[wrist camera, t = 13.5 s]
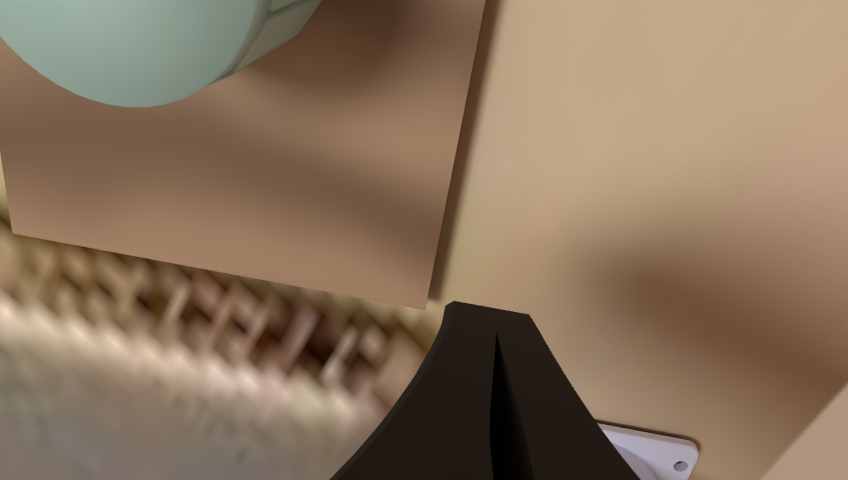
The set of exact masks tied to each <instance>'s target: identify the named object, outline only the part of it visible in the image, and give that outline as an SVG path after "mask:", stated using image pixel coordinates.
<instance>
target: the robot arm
mask: <svg viewBox="0 0 848 480" xmlns="http://www.w3.org/2000/svg"><path fill="white" fill-rule="evenodd" d="M698 458H699V452H698V450H697V447H696V445H695V444H694V443H693V442H692V441H689V440H685V439H679V438H674V437H669V436H663V435H658V434H653V433H647V432H642V431H636V430H631V429H626V428H620V427H615V426H610V425H604V424H599V423H597V422H596V421H595V419H594V418H593V417H592V415H591V414H590V412H589V411H588V409H587V408H586V406H585V405H584V403H583V402H582V400H581V399H580V397H579V396H578V394H577V393H576V391H575V390H574V388H573V387H572V385H571V383H570V382H569V380H568V379H567V377H566V375H565V374H564V372H563V371H562V369H561V367H560V366H559V364H558V362H557V361H556V359H555V357H554V356H553V354H552V352H551V351H550V349H549V347H548V345H547V344H546V342H545V340H544V339H543V337H542V335H541V333H540V332H539V330H538V328H537V326H536V325H535V323H534V321H533V320H532V318H531V317H530V315H529V314H523V313H518V312H512V311H507V310H501V309H496V308H490V307H485V306H479V305H474V304H468V303H463V302H457V301H453V302H451V303H449V304H448V305H446V306H445V311H444V315H443V320H442V325H441V327H440V330H439V332H438V334H437V337H436V339H435V341H434V343H433V345H432V347H431V349H430V351H429V352H428V354H427V356H426V357H425V359H424V361H423V363H422V364H421V366H420V368H419V370H418V371H417V373H416V375H415V376H414V378H413V379H412V381H411V382H410V384H409V385H408V387H407V388H406V389H405V391H404V392H403V394H402V395H401V396H400V398H399V399H398V401H397V402H396V403H395V405H394V406H393V408H392V409H391V411H390V412H389V413H388V414H387V416H386V417H385V418H384V420H383V421H382V422H381V423H380V425H379V426H378V427H377V428H376V429H375V431H374V432H373V433H372V434H371V436H370V437H369V438H368V439H367V440H366V441H365V442H364V444H363V445H362V446H361V447H360V448H359V449H358V450H357V452H356V453H355V454H354V455H353V456H352V457H351V458H350V459H349V460H348V461H347V462H346V463H345V464H344V465H343V466H342V467H341V468H340V469H339V470H338V471H337V473H336V474H335V475H334V476H333V477H332V478H331V479H330V480H688V478H689V476H690V474H691V472H692V470H693V468H694V466H695V464H696V462H697V460H698ZM679 461H683V462H682V463H679V464H675V463H676V462H679Z"/></svg>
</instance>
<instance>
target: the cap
mask: <svg viewBox="0 0 848 480" xmlns="http://www.w3.org/2000/svg"><path fill="white" fill-rule="evenodd" d="M321 1H322V0H0V36H1V37H2V39H3V40H4V41H5V42H6V43H7V45H8V46H9V47H11V48H12V49H13V50H14V51H15V52H16V53H17V54H18V55H19V56H20V57H21V58H22V59H23V60H24V61H25V62H26V63H28V64H29V65H30V66H31V67H33V68H34V69H35V70H36V71H38V72H39V73H40V74H42V75H43V76H45V77H46V78H48V79H49V80H51V81H52V82H54V83H56V84H57V85H59V86H61V87H63V88H65V89H67V90H69V91H71V92H73V93H75V94H77V95H80V96H83V97H85V98H88V99H90V100H93V101H97V102H101V103H105V104H109V105H115V106H123V107H152V106H158V105H165V104H168V103H171V102H175V101H178V100H181V99H183V98H185V97H187V96H189V95H191V94H193V93H196V92H197V91H199V90H201V89H202V88H204V87H206V86H208V85H209V84H212V83H215V82H217V81H220V80H222V79H225V78H227V77H229V76H231V75H233V74H234V73H236V72H238V71H239V70H241V69H243V68H244V67H246V66H248V65H249V64H251V63H252V62H254V61H256V60H257V59H259V58H261V57H262V56H264V55H266V54H267V53H269V52H271V51H272V50H274V49H276V48H277V47H279V46H281V45H282V44H284V43H286V42H287V41H289V40H291V39H292V38H293V37H294V36H296V35H297V34H299V32H300V31H301V29H302V28H303V27H304V25H305V24H306V22H307V21H308V19H309V18H310V17H311V15H312V14H313V12H314V11H315V9H316V8H317V7H318V5H319V4H320V2H321Z"/></svg>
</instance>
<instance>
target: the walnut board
mask: <svg viewBox="0 0 848 480" xmlns="http://www.w3.org/2000/svg"><path fill="white" fill-rule="evenodd" d="M485 1H486V0H322V1H321V2H320V4H319V5H318V7H317V8H316V9H315V11H314V12H313V14H312V15H311V17H310V18H309V19H308V21H307V22H306V24H305V25H304V27H303V28H302V29H301V31H300V32H299V34H297V35H296V36H294V37H293V38H292V39H291V40H289V41H287V42H286V43H284V44H282V45H281V46H279V47H277V48H276V49H274V50H272V51H271V52H269V53H267V54H266V55H264V56H262V57H261V58H259V59H257V60H256V61H254V62H252V63H251V64H249V65H248V66H246V67H244V68H243V69H241V70H239V71H238V72H236V73H234V74H233V75H231V76H229V77H227V78H225V79H222V80H220V81H217V82H215V83H212V84H209V85H208V86H206V87H204V88H202V89H201V90H199V91H197V92H196V93H193V94H191V95H189V96H187V97H185V98H183V99H181V100H178V101H175V102H171V103H168V104H165V105H158V106H152V107H123V106H115V105H109V104H105V103H101V102H97V101H93V100H90V99H88V98H85V97H83V96H80V95H77V94H75V93H73V92H71V91H69V90H67V89H65V88H63V87H61V86H59V85H57V84H56V83H54V82H52V81H51V80H49V79H48V78H46V77H45V76H43V75H42V74H40V73H39V72H38V71H36V70H35V69H34V68H33V67H31V66H30V65H29V64H28V63H26V62H25V61H24V60H23V59H22V58H21V57H20V56H19V55H18V54H17V53H16V52H15V51H14V50H13V49H12V48H11V47H9V46H8V45H7V43H6V42H5V41H4V40H3V39H2V37H1V36H0V153H1V159H2V166H3V173H4V179H5V186H6V193H7V199H8V206H9V213H10V220H11V226H12V233H14V234H19V235H25V236H30V237H35V238H41V239H46V240H51V241H57V242H62V243H68V244H73V245H78V246H84V247H89V248H94V249H100V250H105V251H110V252H116V253H121V254H127V255H132V256H137V257H143V258H148V259H153V260H159V261H164V262H170V263H175V264H180V265H186V266H191V267H196V268H202V269H207V270H213V271H218V272H223V273H229V274H234V275H239V276H245V277H250V278H255V279H261V280H266V281H272V282H277V283H282V284H288V285H293V286H298V287H304V288H309V289H315V290H320V291H325V292H331V293H336V294H341V295H347V296H352V297H357V298H363V299H368V300H374V301H379V302H384V303H390V304H395V305H400V306H406V307H411V308H417V309H422V310H425V308H426V303H427V298H428V292H429V287H430V282H431V277H432V272H433V267H434V262H435V257H436V252H437V246H438V241H439V236H440V231H441V226H442V221H443V216H444V211H445V206H446V201H447V195H448V190H449V185H450V180H451V175H452V170H453V165H454V160H455V155H456V149H457V144H458V139H459V134H460V129H461V124H462V119H463V114H464V109H465V103H466V98H467V93H468V88H469V83H470V78H471V73H472V68H473V63H474V57H475V52H476V47H477V42H478V37H479V32H480V27H481V22H482V17H483V11H484V6H485Z"/></svg>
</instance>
